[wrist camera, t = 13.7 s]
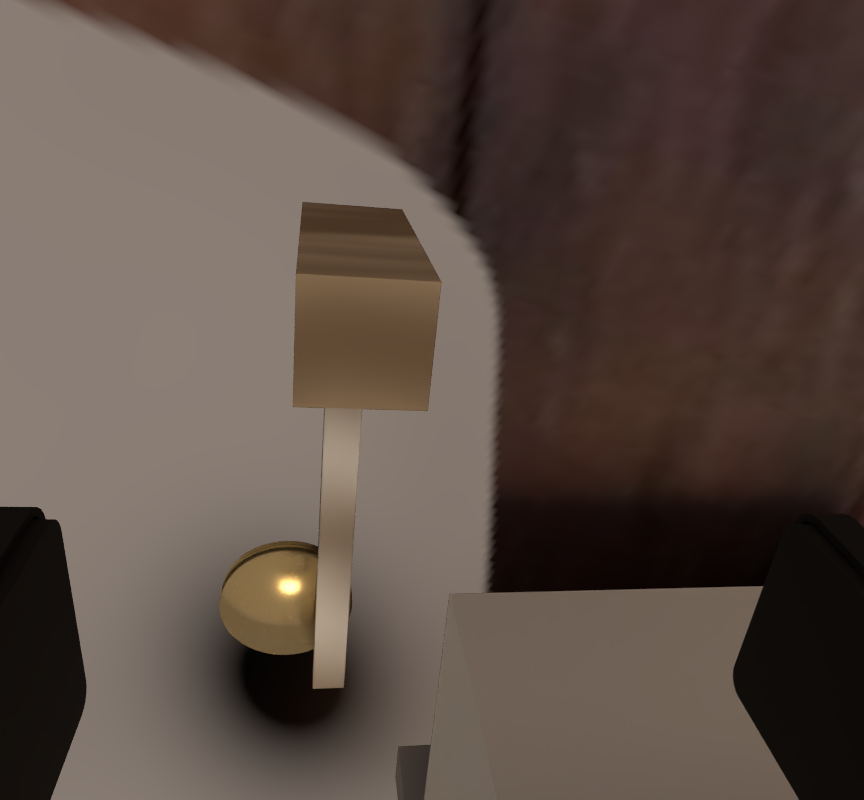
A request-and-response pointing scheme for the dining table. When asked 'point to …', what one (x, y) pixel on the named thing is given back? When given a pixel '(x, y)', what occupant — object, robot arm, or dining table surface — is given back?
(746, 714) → the low cabinet
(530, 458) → the dining table surface
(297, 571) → the brass disc
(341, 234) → the wooden mallet
